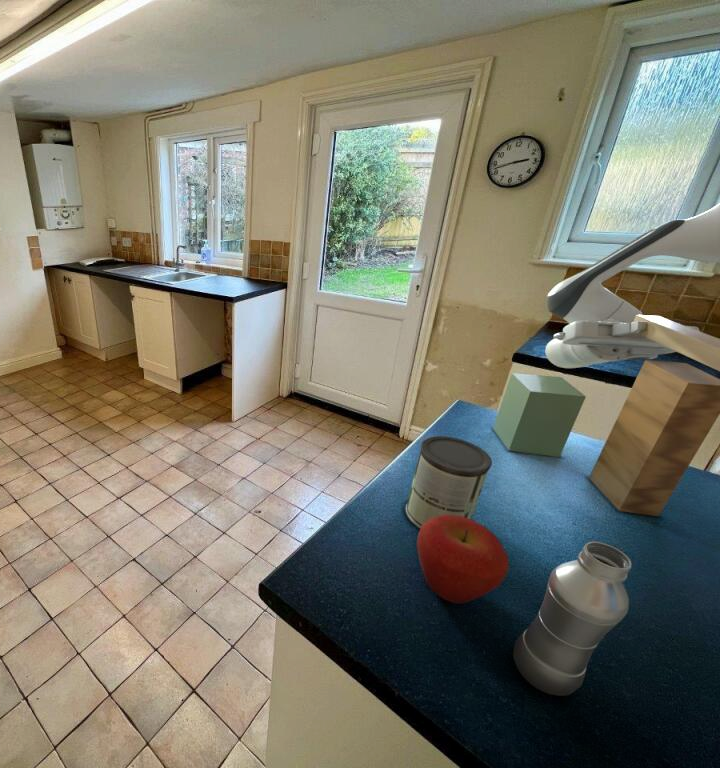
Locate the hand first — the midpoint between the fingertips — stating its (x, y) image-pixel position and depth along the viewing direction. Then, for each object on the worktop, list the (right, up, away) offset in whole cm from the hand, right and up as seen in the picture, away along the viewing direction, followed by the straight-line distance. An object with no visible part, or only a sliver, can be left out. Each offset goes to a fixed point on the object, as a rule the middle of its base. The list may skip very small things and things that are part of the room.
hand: (659, 326), depth 75 cm
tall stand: (-2, -32, +5) cm, 32 cm away
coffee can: (-41, -35, 0) cm, 54 cm away
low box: (-8, -24, +22) cm, 33 cm away
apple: (-47, -41, -14) cm, 64 cm away
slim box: (-2, -5, -5) cm, 7 cm away
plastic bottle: (-42, -46, -25) cm, 67 cm away
